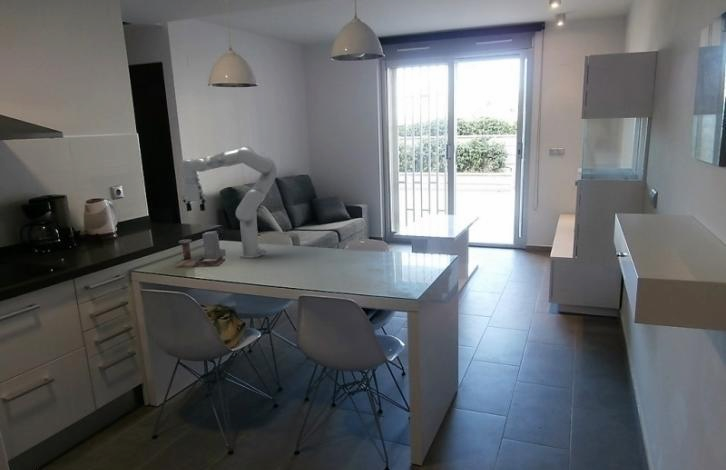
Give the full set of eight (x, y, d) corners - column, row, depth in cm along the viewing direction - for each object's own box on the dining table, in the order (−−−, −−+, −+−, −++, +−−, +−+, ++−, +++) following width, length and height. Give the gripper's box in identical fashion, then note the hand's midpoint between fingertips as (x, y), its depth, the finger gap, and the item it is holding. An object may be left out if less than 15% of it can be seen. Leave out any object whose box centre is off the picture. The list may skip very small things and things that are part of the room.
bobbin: (195, 258, 291) (193, 239, 289) (191, 262, 284) (188, 241, 282) (184, 259, 291) (181, 239, 289) (179, 262, 284) (176, 242, 282)
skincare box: (216, 260, 286) (213, 233, 283) (204, 260, 286) (201, 233, 283) (221, 256, 294) (218, 230, 291) (209, 257, 294) (206, 230, 291)
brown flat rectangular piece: (225, 260, 284) (224, 255, 283) (218, 266, 272) (218, 260, 272) (184, 262, 285) (183, 257, 284) (175, 267, 273) (174, 262, 273)
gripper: (208, 179, 282) (212, 209, 286) (184, 181, 289) (188, 209, 292) (199, 181, 275) (203, 211, 279) (175, 182, 282) (179, 212, 285)
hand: (196, 210), depth 286 cm, fingers open, 9 cm apart
